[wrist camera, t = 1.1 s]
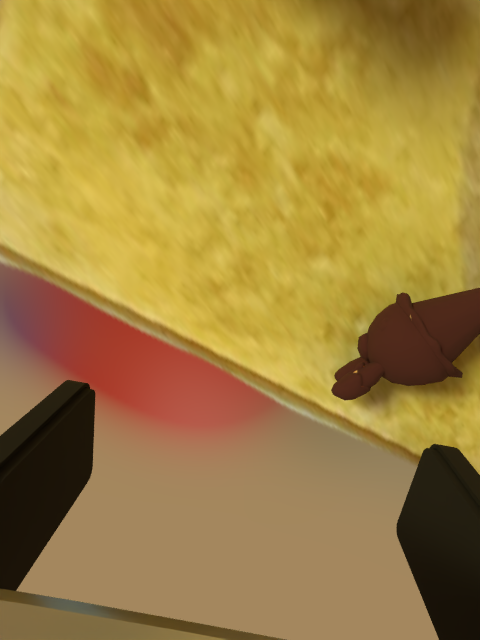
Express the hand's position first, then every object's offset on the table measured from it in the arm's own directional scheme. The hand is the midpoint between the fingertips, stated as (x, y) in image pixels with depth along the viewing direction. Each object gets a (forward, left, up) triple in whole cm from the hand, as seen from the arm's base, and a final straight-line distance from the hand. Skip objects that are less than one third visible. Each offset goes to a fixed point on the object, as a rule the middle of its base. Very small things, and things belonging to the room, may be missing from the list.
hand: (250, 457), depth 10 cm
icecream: (-12, +1, -21) cm, 24 cm away
